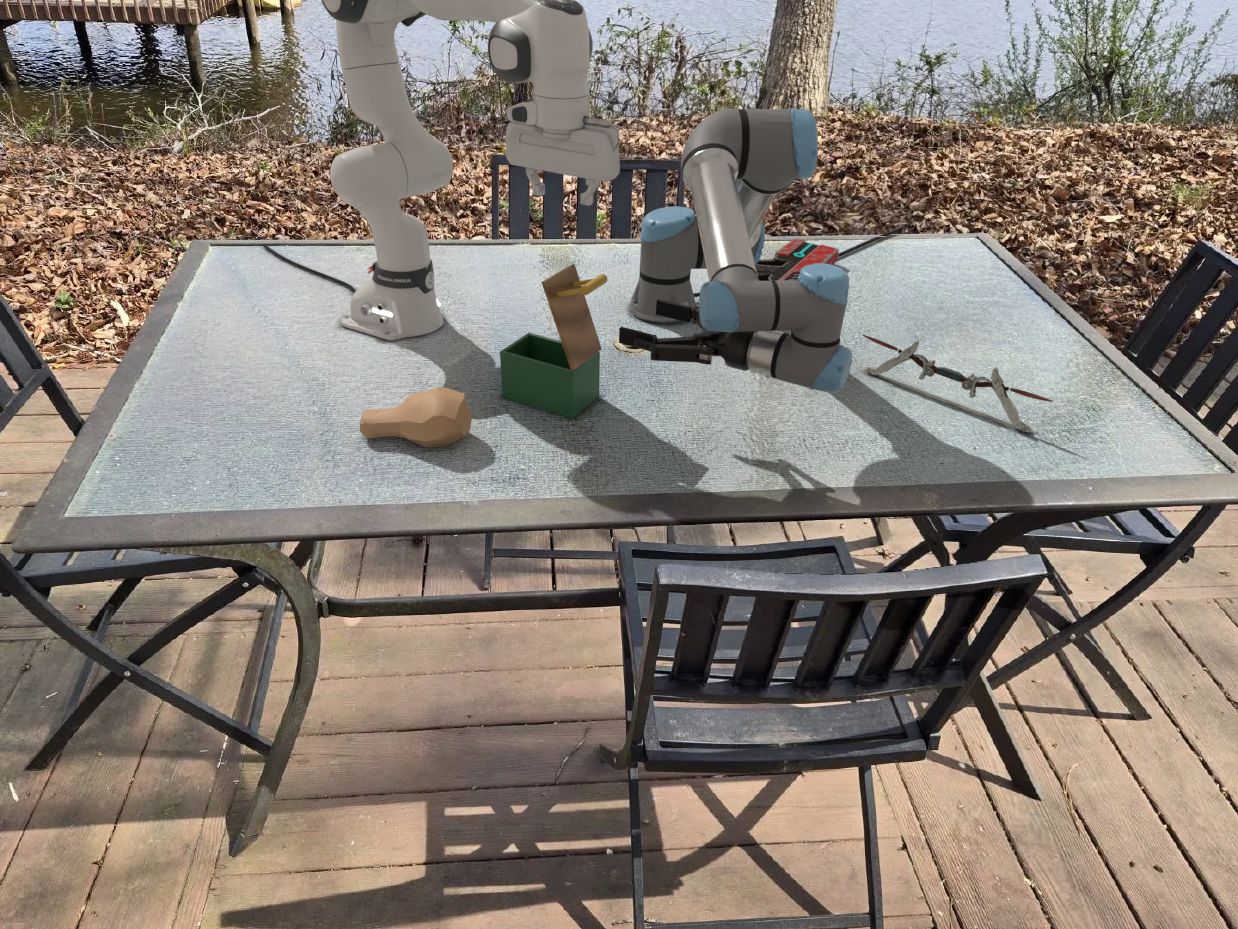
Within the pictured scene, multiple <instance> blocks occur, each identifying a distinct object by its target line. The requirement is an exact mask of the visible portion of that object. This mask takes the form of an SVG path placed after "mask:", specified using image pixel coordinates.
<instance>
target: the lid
mask: <svg viewBox="0 0 1238 929" xmlns="http://www.w3.org/2000/svg"><path fill="white" fill-rule="evenodd" d="M607 282H608V276H607V275H606V274H604V273H601V274H599V275H597V276H596V277H594V278H589V279H584V280H580V276H579V274H578V270H577V267H576V264H575V263H573V264H572V263H571V264H570V265H568V266H566V267H565V268H563V269H561V270H560V271H557V272H556V273H554V274H553V275H551V276H549V277H547V278H545V279H544V280H543V281H541V285H542V288H543V291H544V294H545V297H546V300H547V304H548V306H549V310H550V312H551V315H552V318H553V321H554V324H555V327H556V331H557V333H558V336H559V339H560V341H561V342H562V345H563V348H564V351H565V354H566V357H567V360H568V363H569V366H570V369H571V370H575V369H576V368H577V367H579V366H580V365H581V364H583V363H584V362H585V361H587V360H588V359H589V358H591V357H592V356H593V355H595V354H596V353H597V352H598V351H599V352H601V350H602V346H601V341H600V339H599V335H598V333H597V330H596V327H595V323H594V321H593V317H592V314H591V311H590V308H589V305H588V302H587V299H586V296H588V295H589V294H591V293H593V292H595V290H597V289H599V288H600V287H602V286H603V285H605V284H606V283H607Z"/></svg>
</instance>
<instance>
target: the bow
mask: <svg viewBox="0 0 1238 929" xmlns="http://www.w3.org/2000/svg"><path fill="white" fill-rule="evenodd" d="M862 336H863V338H864V337H865V338H866V339H868V340H869V341H871V342H873V343H874V344H877V345H880V346H882V347H884V348H887V349H889V350H893V351H896V352H897V353H898V355H897V356H894V357H892V358H890V359H888V360H886V361H883V363H881V364H880V365H879V366H878V367H870V366H868V367H866V368H865V369H864V371H865V373H867V374H868V375H871V376H878V377H880V378H884V379H886V380H888V381H891V382H894V383H896V384H899V385H901V386H904V387H906V388H910V389H913V390H915V391H918V392H921V393H924V394H926V395H928V396H931V397H934V398H937V399H939V400H942V401H944V402H947V403H949V404H953V405H956V406H958V407H960V408H963V409H967V410H969V411H970V412H971V411H972V412H975V413H977V414H979V415H981V416H982V415H983V416H985V417H988V418H991V419H993V420H996V421H998V422H1001V423H1004V424H1007V425H1009V426H1012V427H1015V429H1016V430H1019V431H1021V432H1024V433H1030V432H1031V431H1032V430H1033V428H1032V427H1030V425H1027V424H1026V423H1025V422H1024V421H1022V420H1021V418H1020V414H1019V411H1018V409H1017V407H1016V406H1015V404H1014V402H1013V400H1012V399H1011V398H1010V397H1009V395H1008V393H1007V392H1009V391H1010V392H1012V393H1014V394H1018V395H1021V396H1023V397H1027V398H1031V399H1034V400H1038V401H1044V402H1050V403H1054V402H1055V400H1053V399H1049V398H1047V397H1044V396H1041V395H1038V394H1036V393H1032V392H1029V391H1026V390H1022V389H1019V388H1014V387H1009V386H1006V385H1005V384H1004V383H1005V381H1004V380H1003V378H1002V377H1001V375H1000V371H999V368H998V367H997V366H995V367H994V368H993V369H992V372H991V376H990V378H988V377H986V376H977V375H975V373H972V374H971V375H969V376H968V377H966V376H965V375H964V374H962V373H961V372H959V371H956V370H954V369H950V368H948V367H944V366H939V367H938V366H936V360H935V359H933V360H932V359H931V360H930V359H929V360H928V359H927V358H926V356H925V355H922V354H920V353H919V354H918V353H916V352H917V350H918V348H919V343H920V340H916V341H914V342H913V343H912V344H911V345H910V346H908V347H906V348H905V349H904V350H902V349H898V348H897V347H896V346H894V345H891V343H887V342H885V341H883V340H880V339H877V338H876V337H875V338H874V337H872V336H869V335H866V334H862ZM915 353H916V354H915ZM909 360H912V361H913V362H914V363H915V364H916V365H917V366H919V367H920V368H922V369H921V372H920V374H919V377H918V379H919V380H922V381H923V380H924V379H926V376H927V377H930V378H932V377H933V376H935V374H936V375H939V376H941V377H944V378H947V379H950V380H952V381H956V382H958V383H961V388H962V389H963V390H965V391H969V393H968V394H969V396H968V398H971V399H974V398H975V397H976V394H977V390H976V389H977V388H991V389H992V390H993V391H994V393H995V394H996V396H997V398H998V399H999V401H1000V403H1001V406H1002V408H1003V410H1004V411H1005V413H1006V415H1007V418H1008V419H1009V421H1010V422H1011V423H1009V422H1006V421H1004V420H1001V419H998V418H996V417H993V416H990V415H987V414H985V413H983V412H979V411H977V410H975V409H971V408H969V407H966V406H963V405H961V404H958V403H956V402H953V401H950V400H947V399H945V398H942V397H939V396H937V395H934V394H931V393H928V392H926V391H923V390H921V389H918V388H915V387H912V386H910V385H907V384H904V383H902V382H898V381H896V380H894V379H891V378H888V377H885V376H883V375H881V374H883V373H888V371H890V370H892V369H893V368H895V367H896V366H898V365H900V364H902V363H904V362H906V361H907V362H908V361H909Z"/></svg>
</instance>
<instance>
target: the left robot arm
mask: <svg viewBox="0 0 1238 929" xmlns="http://www.w3.org/2000/svg"><path fill="white" fill-rule="evenodd" d="M320 1H321V4H322V5H323V8H324V9H325V11H326V12H327V13H328V14H329V16H330V17H331V18H332V19H334V20H336V21H335V24H336V25H335V26H336V28H335V29H336V40H337V42H336V43H337V49H338V51H337V52H338V57H339V62H340V67H341V72H342V75H343V79H344V80H343V81H344V85H345V90H346V93H347V94H346V95H347V98H348V102H349V106H350V109H351V111H352V112H353V114H354V115H355V116H356V117H357V118H358V119H360V120H361V121H363V122H364V123H367V124H369V125H373V126H375V127H376V128H377V129H378V130H379V131H380V133H381V135H382V137H383V139H384V142H383V143H377V144H371V145H364V146H358V147H355V148H352V149H350V150H346V151H344V152H342V153H339V154H337V155H336V156H335V157H334V159H333V160H332V163H331V166H330V170H329V171H330V172H329V177H330V182H331V185H332V188H333V190H334V192H335V194H336V195H337V196H338V197H339V198H340V200H342V201H343V202H344V203H346V204H347V205H349V206H351V207H353V208H354V209H355V210H357V211H358V212H359V213H360V214H361V215H362V216H363V218H364V219H365V220H366V222H367V224H368V226H369V228H370V230H371V233H372V238H373V239H372V240H373V243H374V248H375V253H376V254H375V255H376V261H374V262H373V263H372V265H371V266H369V267H368V268H367V274H370V273H372V277H371V278H370V279H369V280H367V282H365V283H364V284H363V285H362V286H360V287H359V288H358V289H355V288H354V287H353V286H352V285H351V284H350V283H348V282H345V281H343V280H341V279H339V278H335V277H333V276H330V275H328V274H326V273H324V272H323V273H322V272H320V271H319V270H314V269H313V268H310V267H307V266H305V265H302V264H300V263H298V262H295V261H293V260H291V259H289V258H287V257H285V256H284V255H282V254H280V253H278V252H277V251H275V250H274V249H272V248H271V247H269V246H268V245H267V244H263V245H262V247H263V248H264V249H266V250H267V251H268V252H270V253H271V254H273V255H275V256H276V257H278V258H279V259H281V260H283V261H285V262H287V263H289V264H291V265H293V266H295V267H298V268H300V269H302V270H304V271H307V272H309V273H312V274H315V275H317V276H320V277H323V278H325V279H328V280H330V281H333V282H335V283H338V284H341V285H343V286H345V287H347V288H348V289H350V290H351V291H352V293H353V294H352V296H351V299H350V305H349V310H347V311H346V313H344V314H343V316H342V317H341V320H340V324H341V326H342V327H344V328H347V329H350V330H354V331H357V332H360V333H364V334H367V335H370V336H373V337H377V338H380V339H383V340H387V341H396V340H397V341H398V340H401V339H404V338H412V337H420V336H423V335H427V334H430V333H431V334H432V333H434V332H436V331H437V330H439V329H441V327H442V326H443V325H444V323H445V320H444V317H443V314H442V312H441V310H440V307H441V302H440V301H439V300H438V299H437V296H436V291H435V271H434V264H433V260H432V259H431V253H430V243H429V232H428V229H427V227H426V225H425V223H424V222H423V221H422V220H421V219H420V218H419V217H417V216H415V215H412V214H409V213H407V212H404V211H403V210H402V207H401V200H402V199H406V198H411V197H416V196H422V195H426V194H430V193H432V192H434V191H437V190H440V189H441V188H443V187H446V186H447V185H448V184H450V182H451V180H452V177H453V174H454V161H453V157H452V154H451V152H450V150H449V149H448V146H446V145H445V144H444V142H442V140H440V139H438V138H436V136H433V135H432V134H431V133H430V132H428V130H426V128H425V127H424V126H423V125H422V123H421V122H420V120H419V119H418V118H417V116H416V114H415V112H414V110H413V108H412V106H411V103H410V100H409V96H408V93H407V88H406V85H405V81H404V76H403V70H402V66H401V62H400V58H399V54H398V49H397V45H396V39H395V32H396V28H397V26H398V25H399V24H400V23H401V24H402V25H403V26H405V27H408V28H409V27H410V26H413V24H414V23H415V22H416V21H417V20H420V19H421V18H423V17H424V16H426V15H427V16H429V17H431V18H434V19H436V20H439V21H445V22H446V21H447V22H468V21H469V22H470V21H476V22H477V21H478V22H490V23H494V25H493V26H492V28H491V30H490V33H489V35H488V37H487V38H488V39H487V55H488V60H489V63H490V66H491V69H492V70H493V71H494V74H496V76H497V77H498V78H500V79H501V81H504V82H505V83H510V84H527V83H531V84H532V86H533V91H532V93H533V94H532V95H533V96H532V97H533V98H531V99H527V100H525V101H524V102H520V103H517V104H514V105H512V106H509V107H508V108H507V109H506V117H507V120H508V121H509V122H508V124H507V125H506V129H505V157H506V160H507V161H508V162H509V164H510V165H512V166H515V167H522V168H525V175H526V177H527V179H528V181H529V182H530V184H531V188H532V189H531V190H532V195H533V196H538V197H542V196H545V194H546V183H543V182H542V181H541V179H540V176H539V173H540V172H541V171H542V172H548V173H554V174H559V175H565V176H570V177H575V178H580V179H585V185H586V186H587V189H586V191H584V192H582V193H580V195H579V199H580V201H579V203H580V205H582V206H588V207H590V206H591V205H593V203H594V193H595V192H596V191H597V189H598V187H599V185H600V182H603V183H609V182H611V181H613V180H615V179H616V178H617V177H619V175H620V173H621V162H620V150H619V143H620V142H619V141H620V132H619V129H618V128H617V126H616V125H615V124H614V123H612V121H611V120H610V119H605V118H602V119H601V118H597V117H593V116H590V87H589V84H588V73H589V72H588V71H589V68H590V62H591V58H592V55H593V49H594V43H593V42H594V41H593V37H592V36H593V35H592V33H591V31H590V28H589V23H588V22H589V21H588V17H587V14H586V13H587V12H586V10H585V8H584V5H582V4H581V3H579V2H578V1H576V0H320Z"/></svg>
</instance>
